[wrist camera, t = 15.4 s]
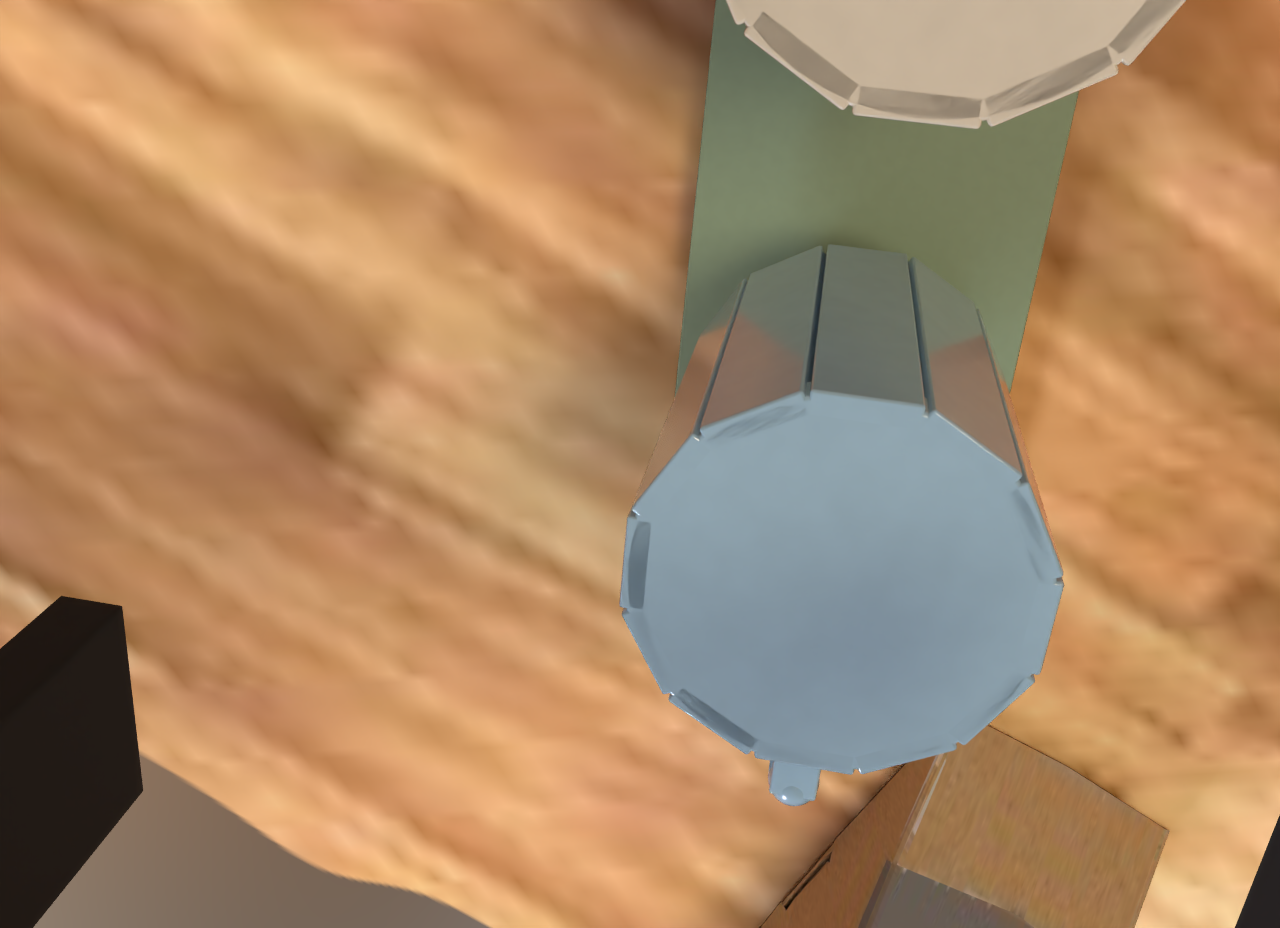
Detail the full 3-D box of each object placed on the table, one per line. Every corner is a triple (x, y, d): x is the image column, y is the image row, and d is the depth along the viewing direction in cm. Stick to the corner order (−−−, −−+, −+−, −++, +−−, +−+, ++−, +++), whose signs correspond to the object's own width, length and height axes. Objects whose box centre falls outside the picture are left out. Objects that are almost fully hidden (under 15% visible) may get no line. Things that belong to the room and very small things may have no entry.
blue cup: (668, 599, 34) (597, 846, 25) (709, 228, 29) (640, 366, 20) (945, 643, 33) (975, 917, 24) (1030, 268, 28) (1106, 430, 19)
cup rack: (671, 477, 37) (576, 750, 25) (762, -388, 28) (682, -627, 16) (971, 522, 36) (1024, 830, 24) (1170, -363, 27) (1424, -596, 15)
